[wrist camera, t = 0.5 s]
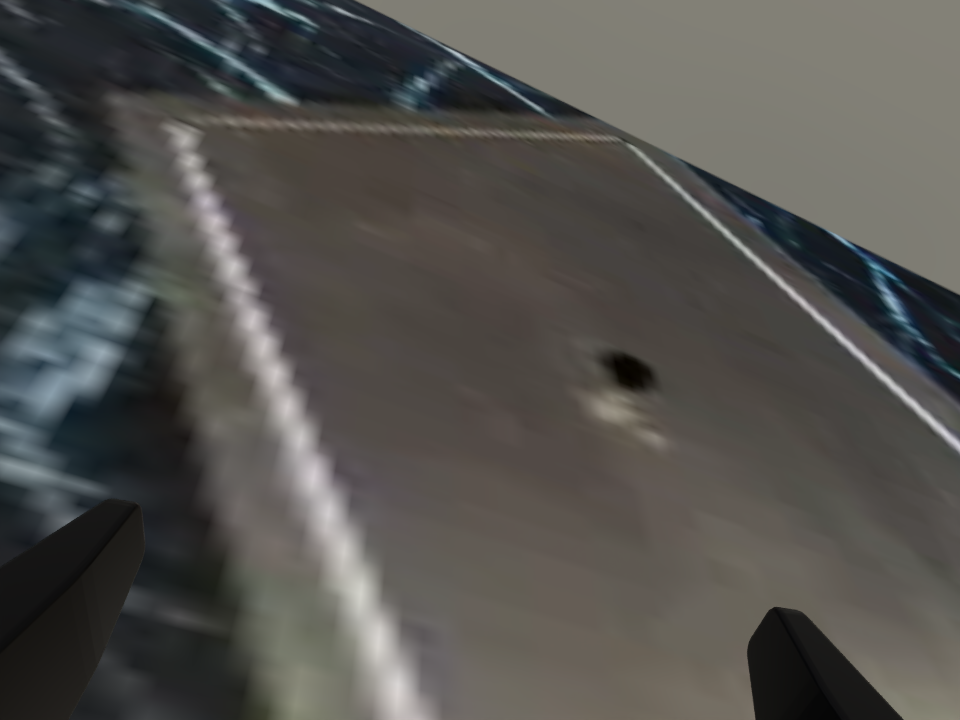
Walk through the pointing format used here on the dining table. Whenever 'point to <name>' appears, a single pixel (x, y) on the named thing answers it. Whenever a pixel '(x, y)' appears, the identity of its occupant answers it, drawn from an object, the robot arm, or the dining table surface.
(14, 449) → the dining table surface
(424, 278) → the dining table surface
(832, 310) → the dining table surface
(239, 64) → the dining table surface
